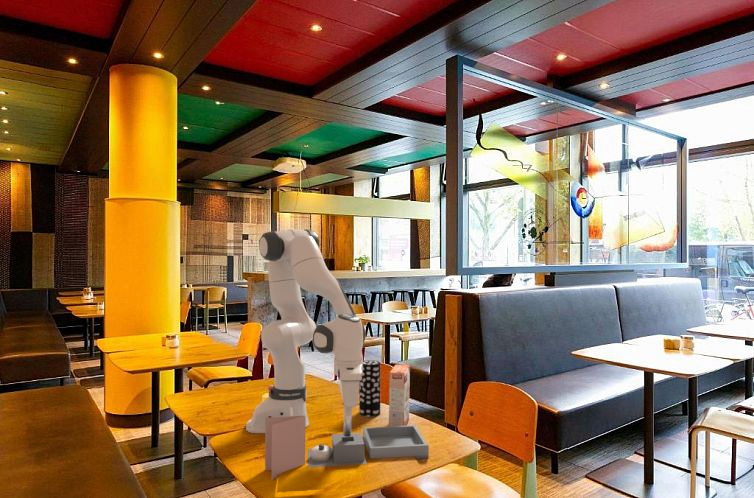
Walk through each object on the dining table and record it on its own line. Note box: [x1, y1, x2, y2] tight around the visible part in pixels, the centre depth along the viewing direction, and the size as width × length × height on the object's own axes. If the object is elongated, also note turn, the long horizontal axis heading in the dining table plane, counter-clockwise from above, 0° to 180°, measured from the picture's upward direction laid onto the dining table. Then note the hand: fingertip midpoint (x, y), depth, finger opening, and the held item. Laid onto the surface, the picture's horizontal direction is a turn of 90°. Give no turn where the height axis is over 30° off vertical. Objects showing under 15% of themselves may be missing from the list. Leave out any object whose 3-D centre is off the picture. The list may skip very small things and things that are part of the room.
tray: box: [362, 424, 430, 460], centre depth 154 cm, size 18×18×4 cm
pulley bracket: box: [307, 432, 367, 468], centre depth 146 cm, size 17×13×6 cm
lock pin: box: [341, 401, 353, 437], centre depth 147 cm, size 4×4×10 cm
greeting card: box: [264, 416, 306, 480], centre depth 137 cm, size 11×7×15 cm, turn 100°
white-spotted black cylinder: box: [358, 359, 382, 418], centre depth 190 cm, size 8×8×20 cm
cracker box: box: [388, 364, 411, 426], centre depth 176 cm, size 14×6×21 cm, turn 168°
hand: (347, 413), depth 147 cm, fingers closed on lock pin, 2 cm apart
